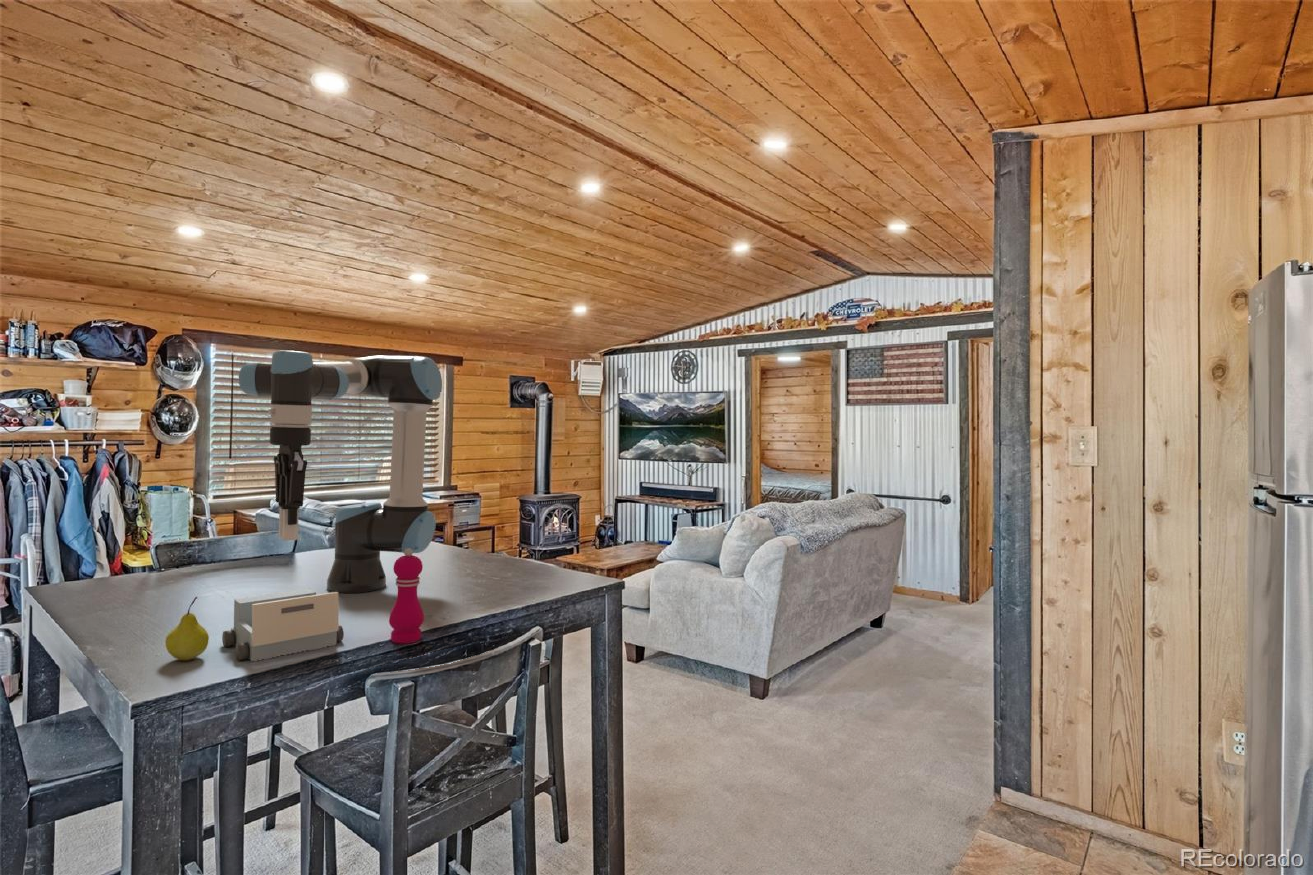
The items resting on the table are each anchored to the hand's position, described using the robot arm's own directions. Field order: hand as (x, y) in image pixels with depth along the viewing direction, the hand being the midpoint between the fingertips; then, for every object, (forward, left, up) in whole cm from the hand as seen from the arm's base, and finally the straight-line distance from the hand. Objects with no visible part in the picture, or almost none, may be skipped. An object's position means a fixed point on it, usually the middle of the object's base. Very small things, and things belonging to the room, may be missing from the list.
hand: (288, 538), depth 145 cm
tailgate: (+6, 0, -19) cm, 20 cm away
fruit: (-3, -17, -23) cm, 28 cm away
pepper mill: (+11, +21, -23) cm, 33 cm away
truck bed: (-2, 0, -22) cm, 23 cm away
